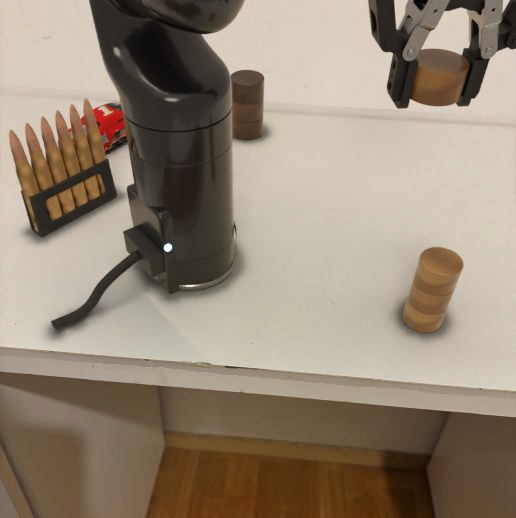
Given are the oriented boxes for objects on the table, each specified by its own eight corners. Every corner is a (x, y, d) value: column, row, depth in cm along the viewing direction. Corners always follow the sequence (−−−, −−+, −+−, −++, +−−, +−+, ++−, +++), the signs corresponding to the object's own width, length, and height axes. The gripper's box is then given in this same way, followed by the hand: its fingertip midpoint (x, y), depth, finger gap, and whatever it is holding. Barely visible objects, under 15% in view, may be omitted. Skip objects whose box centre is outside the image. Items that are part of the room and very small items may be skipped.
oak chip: (434, 112, 43) (443, 78, 41) (391, 89, 45) (398, 56, 43) (471, 96, 45) (482, 63, 43) (428, 75, 47) (436, 43, 45)
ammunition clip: (108, 190, 69) (87, 92, 60) (117, 196, 69) (98, 98, 59) (31, 230, 64) (-4, 130, 55) (41, 237, 63) (7, 137, 54)
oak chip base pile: (423, 339, 55) (444, 281, 49) (394, 315, 57) (411, 257, 51) (449, 321, 56) (472, 263, 50) (420, 299, 58) (439, 241, 52)
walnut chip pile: (243, 143, 77) (243, 88, 71) (224, 130, 79) (223, 75, 73) (269, 133, 79) (271, 79, 73) (249, 120, 81) (250, 66, 75)
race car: (78, 171, 72) (70, 141, 69) (51, 155, 74) (43, 126, 71) (155, 130, 79) (151, 101, 76) (128, 116, 81) (123, 88, 78)
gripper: (404, -183, 29) (353, 130, 42) (659, -178, 31) (535, 123, 44) (366, -202, 34) (331, 84, 47) (588, -197, 36) (495, 79, 49)
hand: (429, 102), depth 45 cm, fingers closed on oak chip, 4 cm apart
